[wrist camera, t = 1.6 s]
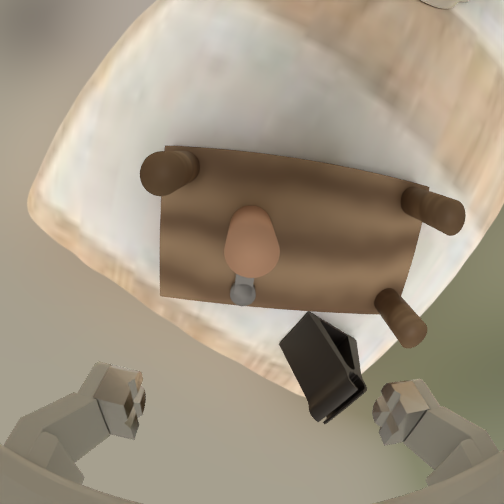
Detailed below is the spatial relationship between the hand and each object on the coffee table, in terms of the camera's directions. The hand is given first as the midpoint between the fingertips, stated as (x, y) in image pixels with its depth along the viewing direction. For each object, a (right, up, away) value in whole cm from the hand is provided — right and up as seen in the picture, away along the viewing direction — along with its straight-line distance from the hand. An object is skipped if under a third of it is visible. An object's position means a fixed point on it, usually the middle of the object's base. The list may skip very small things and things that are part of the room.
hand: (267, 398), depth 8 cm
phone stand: (+8, -7, +29) cm, 31 cm away
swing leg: (-1, +4, +21) cm, 21 cm away
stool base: (+4, +7, +23) cm, 25 cm away
